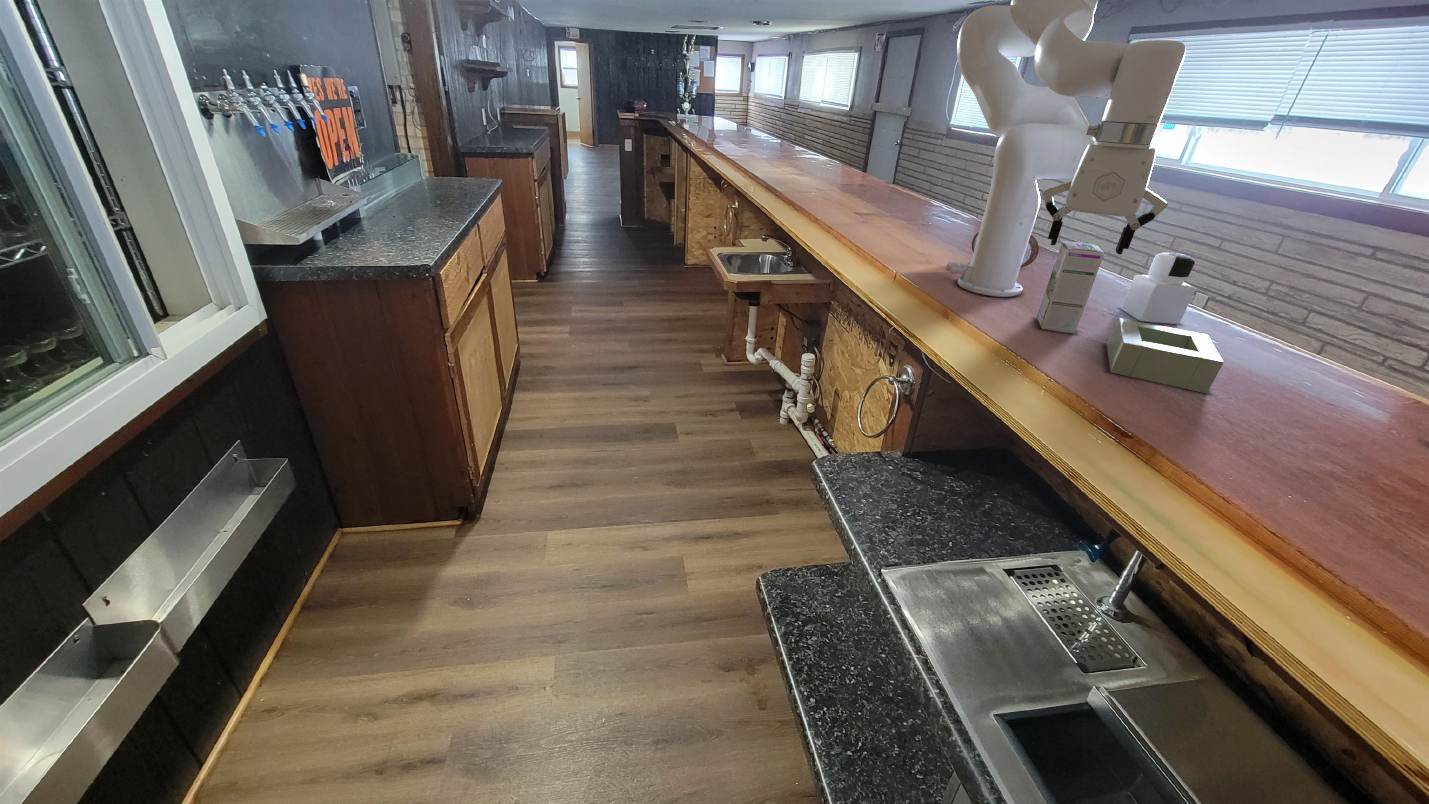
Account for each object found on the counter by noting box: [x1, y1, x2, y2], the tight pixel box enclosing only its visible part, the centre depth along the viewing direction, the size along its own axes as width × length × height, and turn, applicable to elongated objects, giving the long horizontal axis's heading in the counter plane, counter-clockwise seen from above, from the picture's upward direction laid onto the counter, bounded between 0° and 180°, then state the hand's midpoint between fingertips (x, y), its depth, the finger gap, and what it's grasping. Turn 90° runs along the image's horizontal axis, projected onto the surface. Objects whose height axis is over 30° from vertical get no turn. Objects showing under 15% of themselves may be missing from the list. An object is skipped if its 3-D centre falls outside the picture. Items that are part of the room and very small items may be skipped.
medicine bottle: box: [1120, 251, 1196, 325], centre depth 106 cm, size 7×7×12 cm
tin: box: [971, 231, 1040, 269], centre depth 135 cm, size 15×3×8 cm, turn 43°
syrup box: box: [1036, 241, 1105, 334], centre depth 98 cm, size 6×6×14 cm
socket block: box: [1106, 317, 1225, 394], centre depth 87 cm, size 12×12×5 cm
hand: (1084, 248), depth 95 cm, fingers open, 9 cm apart
